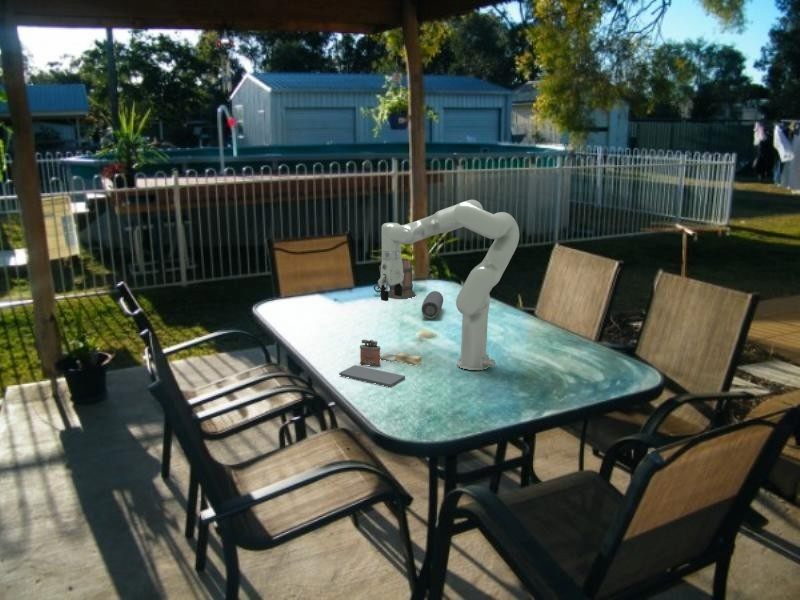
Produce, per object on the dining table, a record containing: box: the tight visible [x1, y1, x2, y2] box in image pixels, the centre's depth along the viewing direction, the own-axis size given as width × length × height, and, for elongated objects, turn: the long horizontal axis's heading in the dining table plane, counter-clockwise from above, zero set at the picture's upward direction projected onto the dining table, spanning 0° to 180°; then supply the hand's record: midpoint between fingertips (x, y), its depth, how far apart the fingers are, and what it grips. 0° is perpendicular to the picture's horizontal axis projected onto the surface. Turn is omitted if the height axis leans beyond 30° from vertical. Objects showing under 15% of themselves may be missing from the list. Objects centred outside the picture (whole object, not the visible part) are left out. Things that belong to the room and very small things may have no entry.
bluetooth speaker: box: [421, 290, 444, 319], centre depth 326 cm, size 23×9×10 cm, turn 171°
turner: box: [380, 352, 422, 367], centre depth 260 cm, size 17×6×3 cm, turn 59°
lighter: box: [359, 339, 381, 367], centre depth 255 cm, size 8×3×10 cm, turn 74°
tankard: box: [373, 257, 417, 300], centre depth 363 cm, size 24×17×20 cm
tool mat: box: [338, 364, 406, 388], centre depth 243 cm, size 22×10×1 cm, turn 59°
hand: (391, 298), depth 263 cm, fingers open, 9 cm apart
